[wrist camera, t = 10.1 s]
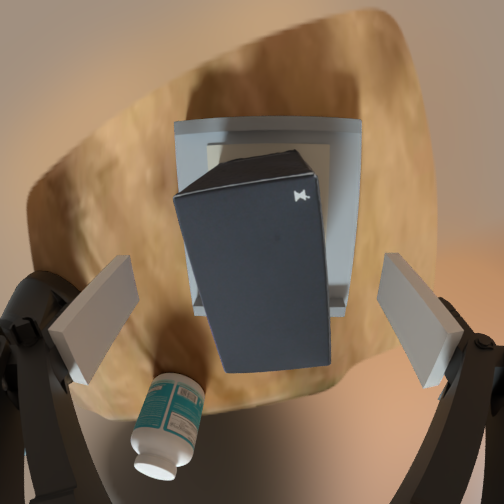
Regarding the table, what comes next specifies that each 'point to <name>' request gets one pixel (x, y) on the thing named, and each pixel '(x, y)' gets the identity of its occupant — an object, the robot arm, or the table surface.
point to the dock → (312, 151)
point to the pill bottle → (167, 425)
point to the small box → (260, 261)
